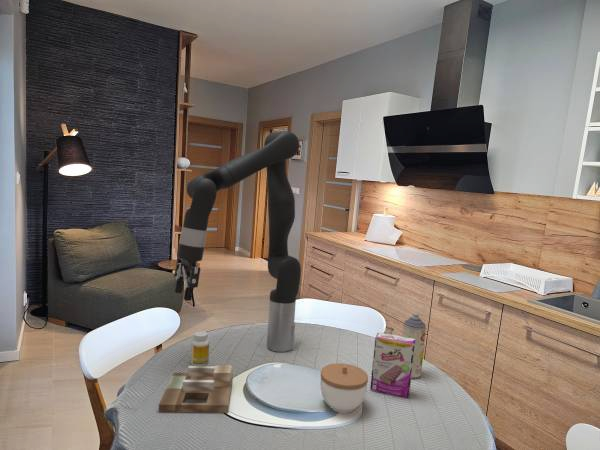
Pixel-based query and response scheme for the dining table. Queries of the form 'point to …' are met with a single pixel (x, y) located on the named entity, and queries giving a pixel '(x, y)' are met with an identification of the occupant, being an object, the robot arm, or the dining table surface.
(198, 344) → the supplement bottle
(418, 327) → the aerosol can
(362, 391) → the lidded bowl
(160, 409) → the channel deck
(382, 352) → the candy bar box
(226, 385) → the birch block
